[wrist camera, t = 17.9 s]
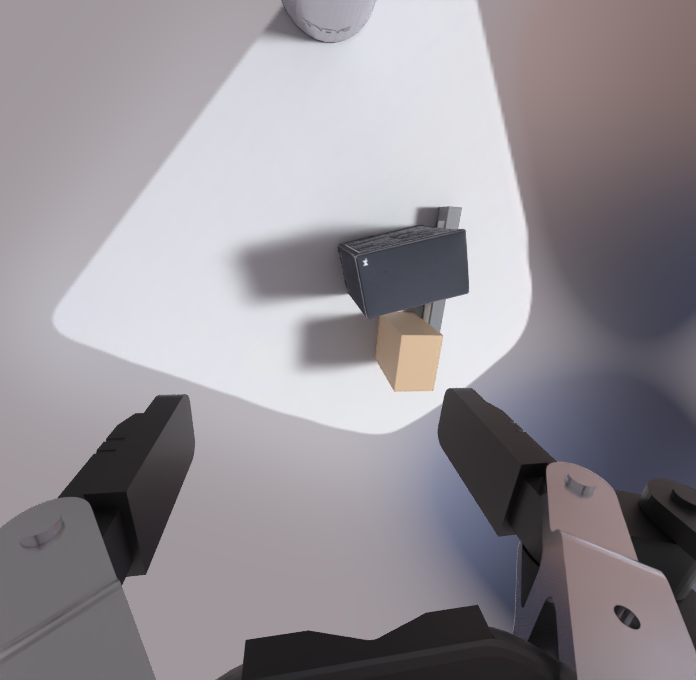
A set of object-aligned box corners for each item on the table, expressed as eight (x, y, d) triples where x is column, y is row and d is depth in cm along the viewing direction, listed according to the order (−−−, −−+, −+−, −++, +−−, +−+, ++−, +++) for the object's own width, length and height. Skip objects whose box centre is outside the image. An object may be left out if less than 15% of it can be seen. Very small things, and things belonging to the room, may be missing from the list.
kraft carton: (374, 358, 43) (394, 391, 35) (379, 311, 41) (401, 335, 33) (408, 358, 44) (434, 390, 36) (414, 312, 42) (444, 335, 33)
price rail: (438, 206, 38) (448, 206, 35) (451, 208, 38) (462, 207, 35) (412, 376, 45) (418, 384, 43) (423, 376, 45) (430, 384, 43)
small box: (347, 297, 40) (365, 323, 30) (336, 244, 37) (351, 253, 28) (429, 277, 40) (471, 296, 31) (423, 223, 38) (467, 225, 28)
